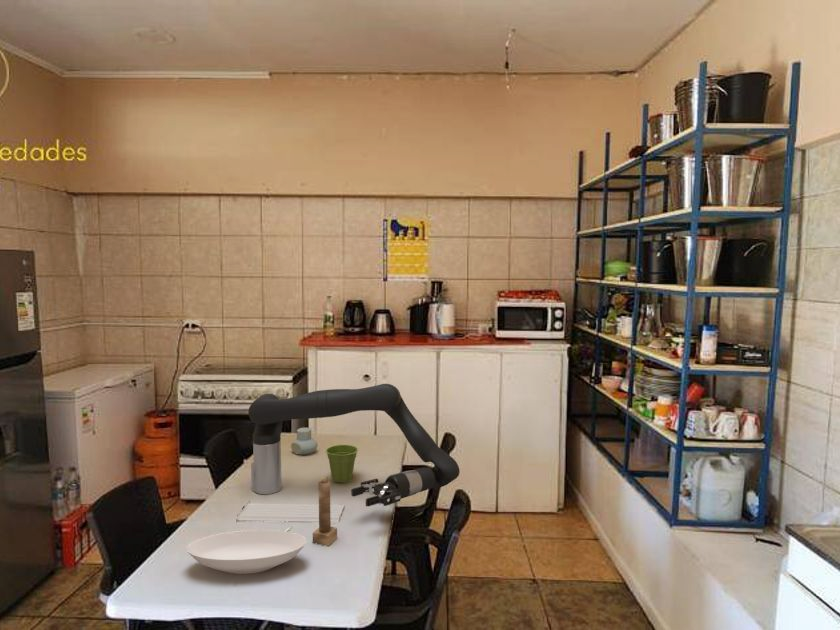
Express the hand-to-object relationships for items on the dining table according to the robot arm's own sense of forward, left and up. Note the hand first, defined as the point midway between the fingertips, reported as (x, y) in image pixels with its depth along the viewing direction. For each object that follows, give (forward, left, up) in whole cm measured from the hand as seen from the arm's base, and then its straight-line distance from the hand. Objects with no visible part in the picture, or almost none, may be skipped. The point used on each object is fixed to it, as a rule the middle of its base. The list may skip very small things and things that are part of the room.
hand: (358, 497), depth 157 cm
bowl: (-18, -28, -10) cm, 35 cm away
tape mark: (-20, -9, -10) cm, 24 cm away
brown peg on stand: (-6, -9, -10) cm, 15 cm away
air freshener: (-52, +52, -10) cm, 74 cm away
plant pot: (-23, +32, -10) cm, 40 cm away
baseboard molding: (-24, +1, -10) cm, 26 cm away
